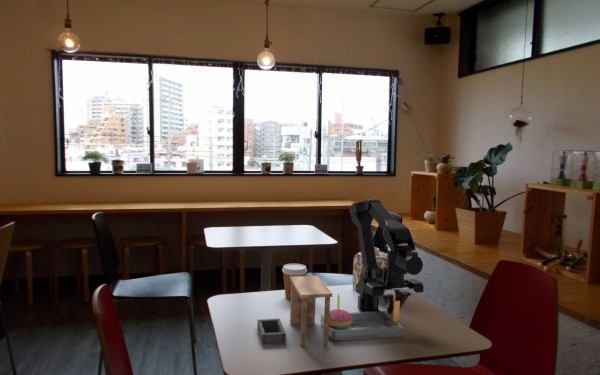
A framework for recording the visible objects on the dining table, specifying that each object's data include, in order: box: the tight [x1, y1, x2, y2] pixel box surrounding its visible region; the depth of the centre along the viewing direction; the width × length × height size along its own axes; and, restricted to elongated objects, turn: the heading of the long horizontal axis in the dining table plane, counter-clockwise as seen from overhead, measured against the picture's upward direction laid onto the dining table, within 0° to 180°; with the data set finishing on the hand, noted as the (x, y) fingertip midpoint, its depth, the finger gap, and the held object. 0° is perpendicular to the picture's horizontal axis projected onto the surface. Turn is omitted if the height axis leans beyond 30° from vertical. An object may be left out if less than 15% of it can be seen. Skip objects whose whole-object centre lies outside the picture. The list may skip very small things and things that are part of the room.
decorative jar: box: [352, 246, 387, 298], centre depth 172 cm, size 12×12×18 cm
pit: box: [256, 318, 287, 346], centre depth 130 cm, size 7×11×3 cm, turn 12°
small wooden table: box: [289, 275, 333, 348], centre depth 132 cm, size 9×17×16 cm, turn 12°
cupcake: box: [329, 293, 353, 330], centre depth 134 cm, size 9×8×12 cm
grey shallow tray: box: [320, 295, 404, 342], centre depth 136 cm, size 23×13×10 cm, turn 102°
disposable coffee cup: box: [281, 263, 308, 301], centre depth 164 cm, size 10×10×12 cm
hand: (392, 313), depth 138 cm, fingers closed on grey shallow tray, 2 cm apart
